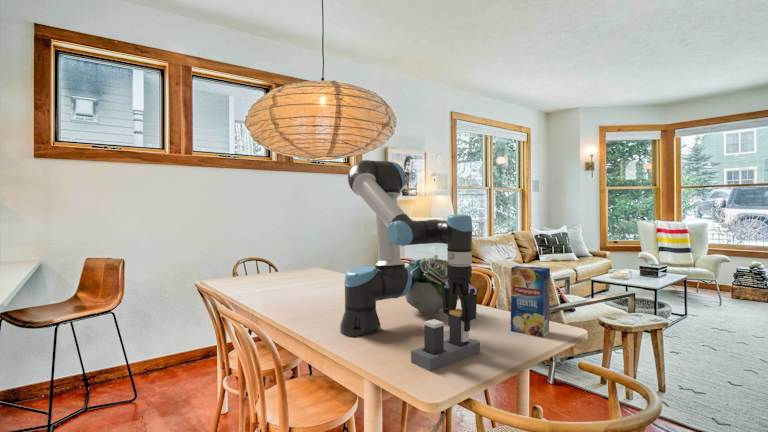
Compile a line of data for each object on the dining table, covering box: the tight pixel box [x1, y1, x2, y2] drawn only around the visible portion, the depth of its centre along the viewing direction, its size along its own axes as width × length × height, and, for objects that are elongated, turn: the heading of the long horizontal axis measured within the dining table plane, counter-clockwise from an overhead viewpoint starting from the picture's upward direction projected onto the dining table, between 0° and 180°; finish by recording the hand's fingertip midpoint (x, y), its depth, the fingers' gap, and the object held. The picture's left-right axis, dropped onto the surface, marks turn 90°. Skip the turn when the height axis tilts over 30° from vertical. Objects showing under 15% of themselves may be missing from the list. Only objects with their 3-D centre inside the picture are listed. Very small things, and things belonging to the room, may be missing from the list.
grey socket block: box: [410, 338, 481, 372], centre depth 124 cm, size 8×22×4 cm, turn 128°
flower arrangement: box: [404, 257, 449, 316], centre depth 176 cm, size 25×25×24 cm
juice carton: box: [510, 264, 551, 338], centre depth 151 cm, size 12×8×24 cm, turn 53°
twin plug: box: [423, 318, 445, 355], centre depth 120 cm, size 4×4×12 cm
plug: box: [449, 308, 468, 347], centre depth 127 cm, size 4×4×12 cm
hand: (458, 338), depth 127 cm, fingers closed on plug, 4 cm apart
